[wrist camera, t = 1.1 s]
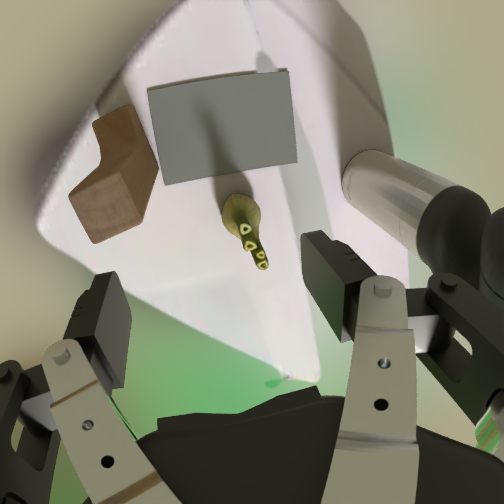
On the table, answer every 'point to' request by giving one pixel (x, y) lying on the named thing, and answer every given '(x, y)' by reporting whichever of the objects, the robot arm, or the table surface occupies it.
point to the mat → (223, 125)
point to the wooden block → (116, 177)
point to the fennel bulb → (245, 225)
